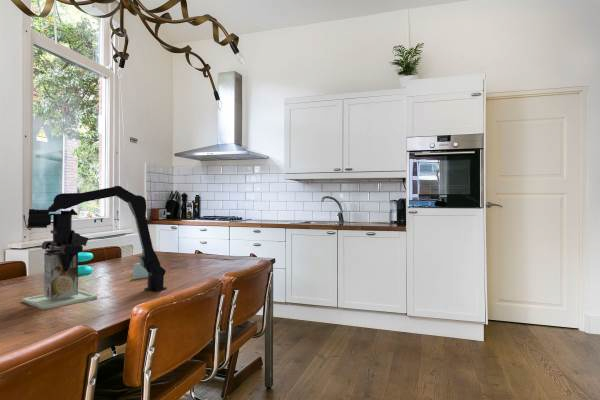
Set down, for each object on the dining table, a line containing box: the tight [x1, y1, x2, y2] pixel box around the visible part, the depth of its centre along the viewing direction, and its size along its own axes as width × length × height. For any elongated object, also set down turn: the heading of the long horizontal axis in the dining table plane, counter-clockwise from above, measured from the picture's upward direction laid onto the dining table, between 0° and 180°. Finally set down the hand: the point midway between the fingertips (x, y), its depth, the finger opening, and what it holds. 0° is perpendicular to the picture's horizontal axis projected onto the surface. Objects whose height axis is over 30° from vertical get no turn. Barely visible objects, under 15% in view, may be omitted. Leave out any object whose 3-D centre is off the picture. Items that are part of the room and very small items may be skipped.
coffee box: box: [43, 252, 79, 300], centre depth 135 cm, size 9×6×16 cm
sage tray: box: [22, 289, 98, 311], centre depth 135 cm, size 16×18×1 cm
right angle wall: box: [132, 262, 149, 280], centre depth 180 cm, size 12×12×8 cm
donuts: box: [78, 251, 94, 276], centre depth 180 cm, size 10×10×10 cm
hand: (61, 270), depth 135 cm, fingers closed on coffee box, 6 cm apart
